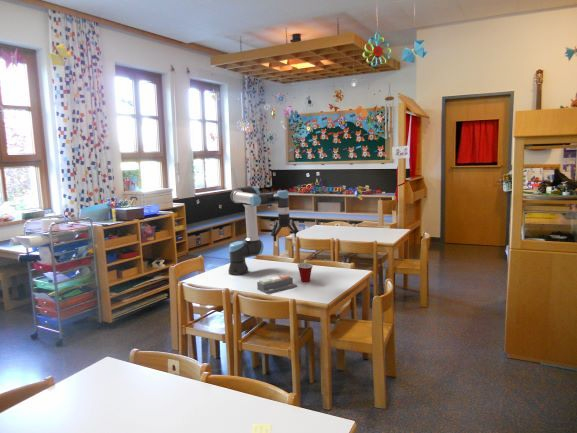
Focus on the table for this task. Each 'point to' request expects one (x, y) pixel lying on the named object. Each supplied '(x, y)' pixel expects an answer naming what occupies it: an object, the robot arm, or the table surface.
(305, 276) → the plastic cup
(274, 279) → the cream key
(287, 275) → the terracotta key
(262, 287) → the keypad
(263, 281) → the sage key
